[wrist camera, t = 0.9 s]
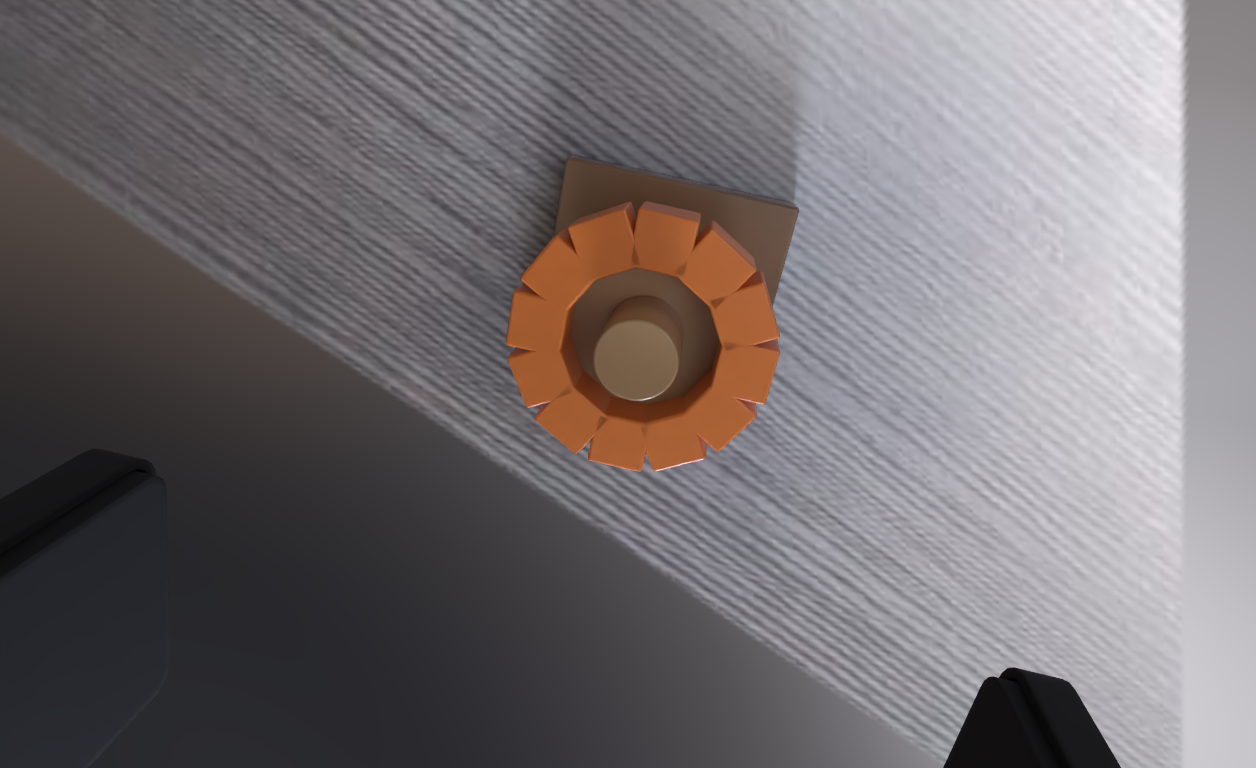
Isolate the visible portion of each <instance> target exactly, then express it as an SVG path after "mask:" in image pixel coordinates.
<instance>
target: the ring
mask: <svg viewBox="0 0 1256 768" xmlns="http://www.w3.org/2000/svg"><path fill="white" fill-rule="evenodd" d="M700 218H701V214H700V213H698V212H693V211H689V210H684V209H680V208H675V207H671V206H666V205H662V204H657V203H653V202H648V201H645V202H644V203H643V205H642V206H641V207H640V208H639V210H638V214H637V217H636V214H635V211H634V208H633V205H632V203H631V202H627V203H624V204H621V205H618V206H615V207H612V208H609V209H606V210H603V211H600V212H596V213H593V214H590V215H587V216H584V217H581V218H579V219H577V220H576V221H575V222H574V223H573V224H571V225H570V226H569V227H568V228H565V229H563V230H562V231H561V232H559V233H558V234H557V235H556V236H554V237H553V239H552V240H551V241H550V242H549V243H548V245H547V246H546V247H545V248H544V249H543V250H542V252H541V253H540V254H539V255H538V256H537V257H536V259H535V260H534V261H533V262H532V263H531V265H530V266H529V267H528V268H527V269H526V270H525V272H524V273H523V274H522V275H521V280H522V281H523V282H524V283H522V284H521V285H520V286H519V287H518V288H517V289H516V290H515V291H514V292H513V298H512V304H511V311H510V317H509V324H508V330H507V337H506V344H507V345H508V346H513V347H516V348H515V349H514V351H513V352H512V353H511V354H510V355H509V357H508V362H509V364H510V367H511V370H512V372H513V375H514V377H515V380H516V382H517V385H518V387H519V390H520V393H521V395H522V398H523V400H524V403H525V405H526V407H527V408H530V407H534V406H538V405H541V404H543V405H542V406H541V408H540V410H539V411H538V413H537V415H536V417H535V420H536V421H537V422H538V423H539V424H540V425H541V426H543V427H544V428H545V429H546V430H547V431H548V432H550V433H551V434H552V435H553V436H554V437H556V438H557V439H558V440H559V441H560V442H561V443H563V444H564V445H565V446H566V447H567V448H569V449H570V450H571V451H572V452H573V453H574V454H577V453H578V452H579V451H580V450H581V449H582V448H583V447H584V446H585V445H586V444H587V443H588V442H589V441H590V440H591V444H590V448H589V453H588V460H590V461H594V462H598V463H603V464H607V465H611V466H615V467H620V468H624V469H628V470H632V471H637V472H640V471H641V470H642V467H643V463H644V459H645V454H646V452H647V455H648V458H649V461H650V464H651V466H652V469H653V470H654V471H660V470H664V469H668V468H672V467H676V466H680V465H684V464H688V463H692V462H696V461H700V460H704V459H705V458H706V446H707V444H708V445H709V446H711V447H712V448H713V449H714V450H715V451H717V452H719V451H721V450H722V449H723V448H724V447H725V446H726V445H727V444H728V443H729V442H730V441H731V440H732V439H733V438H734V437H736V436H737V435H738V434H739V433H740V432H741V431H742V430H743V429H744V428H745V427H746V426H747V425H748V424H749V423H750V422H752V421H753V420H754V419H755V418H756V416H757V412H756V403H758V404H762V405H764V404H765V403H766V400H767V396H768V393H769V389H770V386H771V382H772V379H773V375H774V372H775V368H776V365H777V361H778V358H779V354H780V351H779V346H778V342H777V339H778V338H779V337H780V334H779V330H778V326H777V322H776V318H775V314H774V311H773V307H772V304H771V300H770V297H769V293H768V289H767V286H766V282H765V279H764V275H763V272H762V271H757V272H756V265H755V260H754V257H753V256H752V255H750V254H749V253H748V252H747V251H746V250H745V249H744V248H743V247H742V246H741V245H740V244H739V243H738V242H737V241H736V240H734V239H733V238H732V237H731V236H730V235H729V234H728V233H727V232H726V231H725V230H724V229H723V228H722V227H721V226H720V225H718V224H717V223H716V222H715V221H711V222H710V223H709V224H708V225H707V226H706V227H705V229H704V230H703V231H702V232H701V233H700V234H699V235H698V236H697V232H698V228H699V224H700ZM696 236H697V237H696ZM634 268H638V269H642V270H647V271H651V272H656V273H660V274H665V275H669V276H673V277H678V278H679V279H680V280H681V281H682V282H683V283H684V284H685V285H686V286H687V287H689V288H690V289H691V290H692V291H693V292H694V293H695V294H696V295H697V296H698V297H700V298H701V299H702V300H703V301H704V302H705V303H706V304H707V305H708V306H709V307H710V311H711V314H712V317H713V320H714V324H715V327H716V330H717V333H718V337H719V342H718V346H717V350H716V354H715V358H714V362H713V366H712V369H711V370H710V371H709V372H708V373H707V374H706V375H705V376H704V377H703V378H702V379H701V380H700V381H699V382H698V383H697V384H696V385H695V386H694V387H692V388H691V389H690V390H689V391H688V392H687V393H686V394H685V395H683V396H679V397H675V398H671V399H668V400H664V401H660V402H657V403H653V404H644V403H640V402H636V401H632V400H627V399H623V398H619V397H614V396H612V395H611V394H610V393H608V392H607V391H606V390H605V389H604V388H603V387H602V386H600V385H599V384H598V383H597V382H596V381H595V380H594V379H592V378H591V377H590V376H589V375H588V374H587V373H585V372H584V371H583V369H582V367H581V364H580V361H579V358H578V356H577V353H576V350H575V347H574V345H573V342H572V339H571V336H570V334H571V328H572V323H573V318H574V312H575V307H576V301H577V300H578V299H579V298H580V297H581V296H582V295H583V294H584V292H585V291H586V290H587V289H588V288H589V287H590V286H591V285H592V283H593V282H594V281H595V280H599V279H602V278H605V277H608V276H611V275H615V274H618V273H621V272H624V271H628V270H631V269H634Z"/></svg>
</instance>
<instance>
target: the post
mask: <svg viewBox="0 0 1256 768" xmlns="http://www.w3.org/2000/svg"><path fill="white" fill-rule="evenodd" d="M645 201H648V202H653V203H657V204H662V205H666V206H671V207H675V208H680V209H684V210H689V211H693V212H698V213H700V214H701V218H700V224H699V228H698V232H697V236H698V235H699V234H700V233H701V232H702V231H703V230H704V229H705V227H706V226H707V225H708V224H709V223H710V222H711V221H715V222H716V223H717V224H718V225H720V226H721V227H722V228H723V229H724V230H725V231H726V232H727V233H728V234H729V235H730V236H731V237H732V238H733V239H734V240H736V241H737V242H738V243H739V244H740V245H741V246H742V247H743V248H744V249H745V250H746V251H747V252H748V253H749V254H750V255H752V256H753V257H754V260H755V265H756V272H757V271H762V272H763V275H764V279H765V282H766V286H767V289H768V293H769V297H770V300H771V304H772V307H773V303H774V300H775V296H776V292H777V289H778V285H779V282H780V278H781V274H782V271H783V267H784V264H785V260H786V256H787V253H788V249H789V246H790V242H791V238H792V235H793V231H794V228H795V224H796V220H797V217H798V213H799V209H798V207H797V206H796V204H794V203H791V202H786V201H782V200H777V199H773V198H768V197H764V196H759V195H755V194H750V193H746V192H741V191H737V190H732V189H728V188H723V187H719V186H714V185H710V184H705V183H701V182H696V181H692V180H687V179H683V178H678V177H674V176H669V175H664V174H660V173H655V172H651V171H646V170H642V169H637V168H633V167H628V166H624V165H619V164H615V163H610V162H606V161H601V160H597V159H592V158H588V157H583V156H579V155H573V156H570V157H568V158H567V159H566V163H565V169H564V175H563V181H562V187H561V193H560V199H559V204H558V210H557V216H556V222H555V228H554V234H553V237H554V236H556V235H557V234H558V233H559V232H561V231H562V230H563V229H565V228H568V227H569V226H570V225H571V224H573V223H574V222H575V221H576V220H577V219H579V218H581V217H584V216H587V215H590V214H593V213H596V212H600V211H603V210H606V209H609V208H612V207H615V206H618V205H621V204H624V203H627V202H631V203H632V205H633V208H634V211H635V214H636V217H637V214H638V210H639V208H640V207H641V206H642V205H643V203H644V202H645ZM697 236H696V237H697ZM570 336H571V339H572V342H573V345H574V347H575V350H576V353H577V356H578V358H579V361H580V364H581V367H582V369H583V371H584V372H585V373H587V374H588V375H589V376H590V377H591V378H592V379H594V380H595V381H596V382H597V383H598V384H599V385H600V386H602V387H603V388H604V389H605V390H606V391H607V392H608V393H610V394H611V395H612V396H614V397H619V398H623V399H627V400H632V401H636V402H640V403H644V404H653V403H657V402H660V401H664V400H668V399H671V398H675V397H679V396H683V395H685V394H686V393H687V392H688V391H689V390H690V389H691V388H692V387H694V386H695V385H696V384H697V383H698V382H699V381H700V380H701V379H702V378H703V377H704V376H705V375H706V374H707V373H708V372H709V371H710V370H711V369H712V366H713V362H714V358H715V354H716V350H717V346H718V342H719V337H718V333H717V330H716V327H715V324H714V320H713V317H712V314H711V311H710V307H709V306H708V305H707V304H706V303H705V302H704V301H703V300H702V299H701V298H700V297H698V296H697V295H696V294H695V293H694V292H693V291H692V290H691V289H690V288H689V287H687V286H686V285H685V284H684V283H683V282H682V281H681V280H680V279H679V278H678V277H673V276H669V275H665V274H660V273H656V272H651V271H647V270H642V269H638V268H634V269H631V270H628V271H624V272H621V273H618V274H615V275H611V276H608V277H605V278H602V279H599V280H595V281H594V282H593V283H592V285H591V286H590V287H589V288H588V289H587V290H586V291H585V292H584V294H583V295H582V296H581V297H580V298H579V299H578V300H577V301H576V307H575V312H574V318H573V323H572V328H571V334H570Z"/></svg>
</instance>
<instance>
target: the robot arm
mask: <svg viewBox="0 0 1256 768" xmlns="http://www.w3.org/2000/svg"><path fill="white" fill-rule="evenodd" d="M167 534H168V532H167V489H166V483H165V482H164V480H163V479H162V478H161V477H159V476H156V471H155V468H154V467H153V465H152V463H150V462H149V461H147V460H145V459H140V458H136V457H132V456H128V455H124V454H119V453H115V452H111V451H107V450H103V449H91V450H89V451H86V452H84V453H82V454H80V455H78V456H77V457H75V458H73V459H71V460H69V461H68V462H66V463H64V464H62V465H60V466H59V467H57V468H55V469H53V470H51V471H50V472H48V473H46V474H44V475H43V476H41V477H39V478H37V479H36V480H34V481H32V482H30V483H28V484H27V485H25V486H23V487H21V488H19V489H18V490H16V491H14V492H12V493H10V494H9V495H7V496H5V497H3V498H2V499H0V768H88V767H89V766H90V765H91V764H92V763H93V762H94V761H95V760H96V759H97V758H98V757H99V755H100V754H101V753H102V752H103V751H104V750H105V749H106V748H107V747H108V746H109V745H110V744H111V743H112V742H113V741H114V740H115V739H116V738H117V736H118V735H119V734H120V733H121V732H122V731H123V730H124V729H125V728H126V727H127V726H128V725H129V724H130V723H131V722H132V721H133V719H134V718H135V717H136V716H137V715H138V714H139V713H140V712H141V711H142V710H143V709H144V708H145V707H146V706H147V705H148V704H149V702H150V701H151V700H152V699H153V698H154V697H155V696H156V695H157V693H158V692H159V690H160V689H161V687H162V685H163V683H164V681H165V679H166V676H167V673H168V669H169V662H170V661H169V660H170V657H169V594H168V536H167ZM943 768H1121V767H1120V765H1119V763H1118V762H1117V760H1116V758H1115V757H1114V755H1113V753H1112V752H1111V750H1110V748H1109V746H1108V745H1107V743H1106V741H1105V740H1104V738H1103V736H1102V735H1101V733H1100V731H1099V729H1098V728H1097V726H1096V724H1095V723H1094V721H1093V719H1092V718H1091V716H1090V714H1089V712H1088V711H1087V709H1086V707H1085V706H1084V704H1083V702H1082V701H1081V699H1080V697H1079V695H1078V694H1077V692H1076V690H1075V689H1074V688H1073V687H1072V685H1071V684H1070V683H1069V682H1067V681H1065V680H1063V679H1060V678H1056V677H1051V676H1047V675H1043V674H1039V673H1035V672H1031V671H1026V670H1022V669H1018V668H1007V669H1006V670H1005V671H1004V672H1002V674H1001V675H1000V677H999V678H997V677H988V678H987V679H986V680H985V681H984V682H983V684H982V686H981V687H980V690H979V692H978V694H977V696H976V698H975V700H974V702H973V705H972V707H971V709H970V711H969V713H968V715H967V718H966V720H965V722H964V724H963V726H962V728H961V731H960V733H959V735H958V737H957V739H956V741H955V744H954V746H953V748H952V750H951V752H950V754H949V757H948V759H947V761H946V763H945V765H944V767H943Z"/></svg>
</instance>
